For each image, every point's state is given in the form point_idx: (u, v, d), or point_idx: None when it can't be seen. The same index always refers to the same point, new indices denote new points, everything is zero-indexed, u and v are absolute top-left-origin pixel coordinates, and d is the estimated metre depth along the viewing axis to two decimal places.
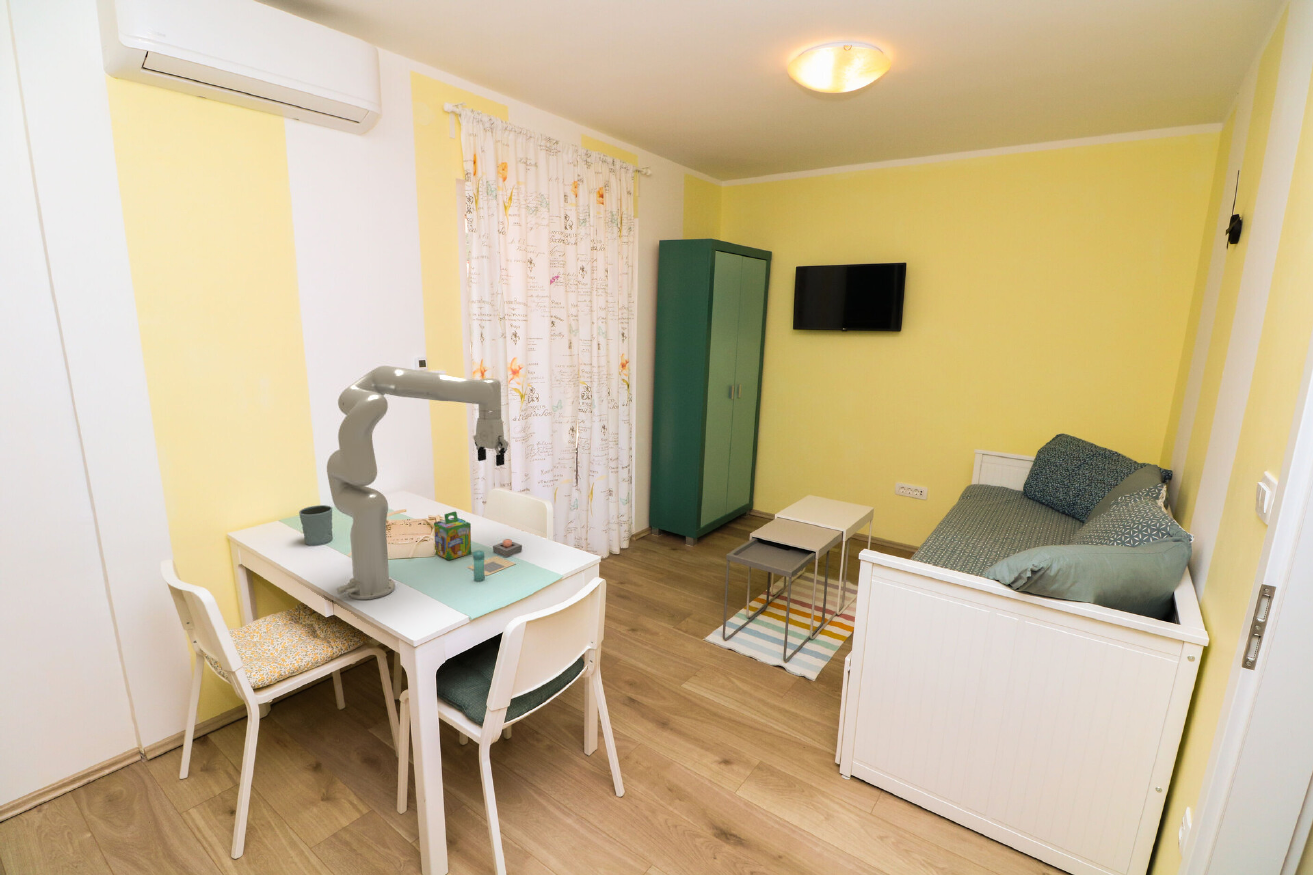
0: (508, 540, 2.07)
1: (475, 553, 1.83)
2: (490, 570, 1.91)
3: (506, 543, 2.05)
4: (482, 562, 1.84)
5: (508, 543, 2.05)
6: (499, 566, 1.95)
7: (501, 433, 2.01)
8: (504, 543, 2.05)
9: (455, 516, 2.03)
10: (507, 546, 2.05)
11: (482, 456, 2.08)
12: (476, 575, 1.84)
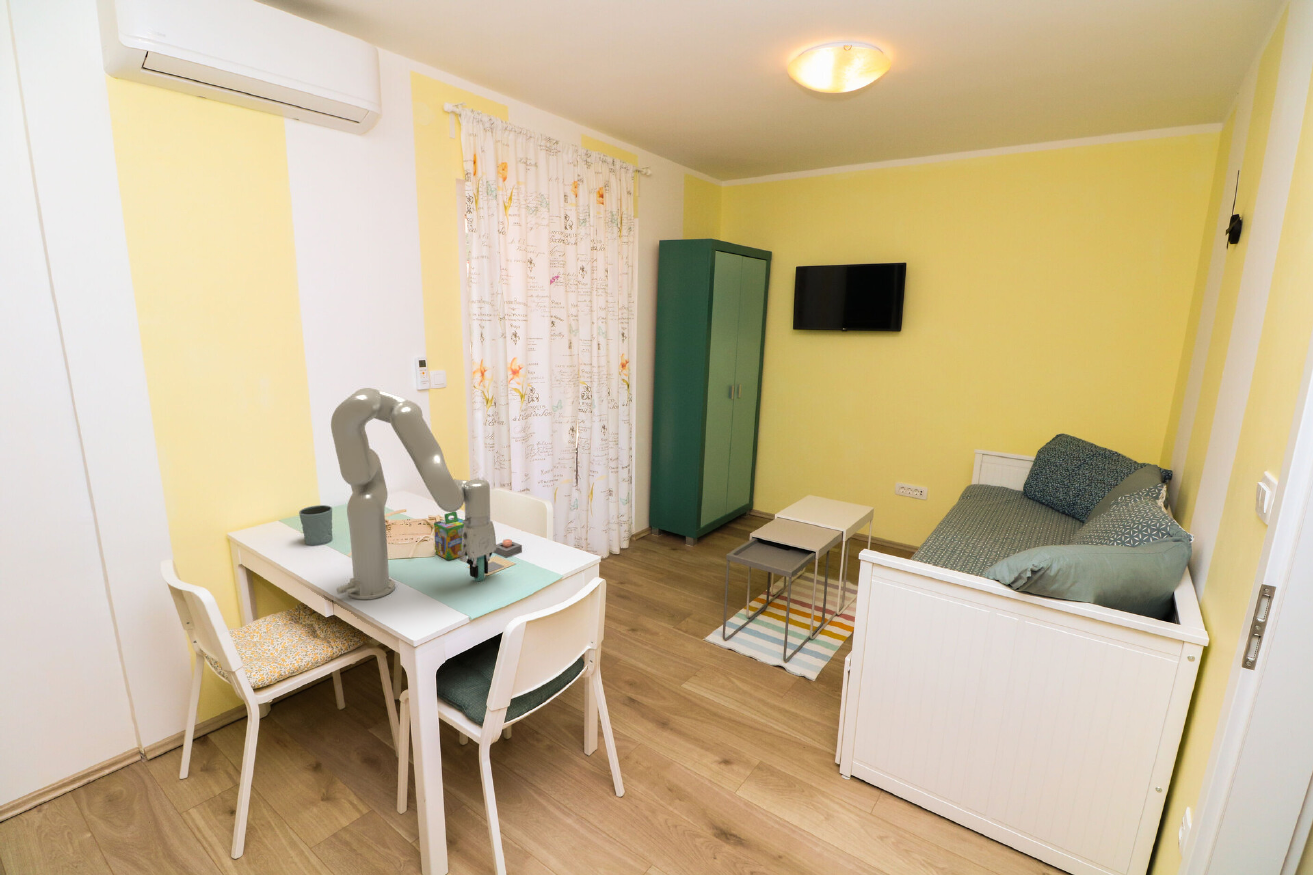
0: (508, 540, 2.07)
1: None
2: (490, 570, 1.91)
3: (506, 543, 2.05)
4: (482, 562, 1.84)
5: (508, 543, 2.05)
6: (499, 566, 1.95)
7: None
8: (504, 543, 2.05)
9: (455, 516, 2.03)
10: (507, 546, 2.05)
11: None
12: None
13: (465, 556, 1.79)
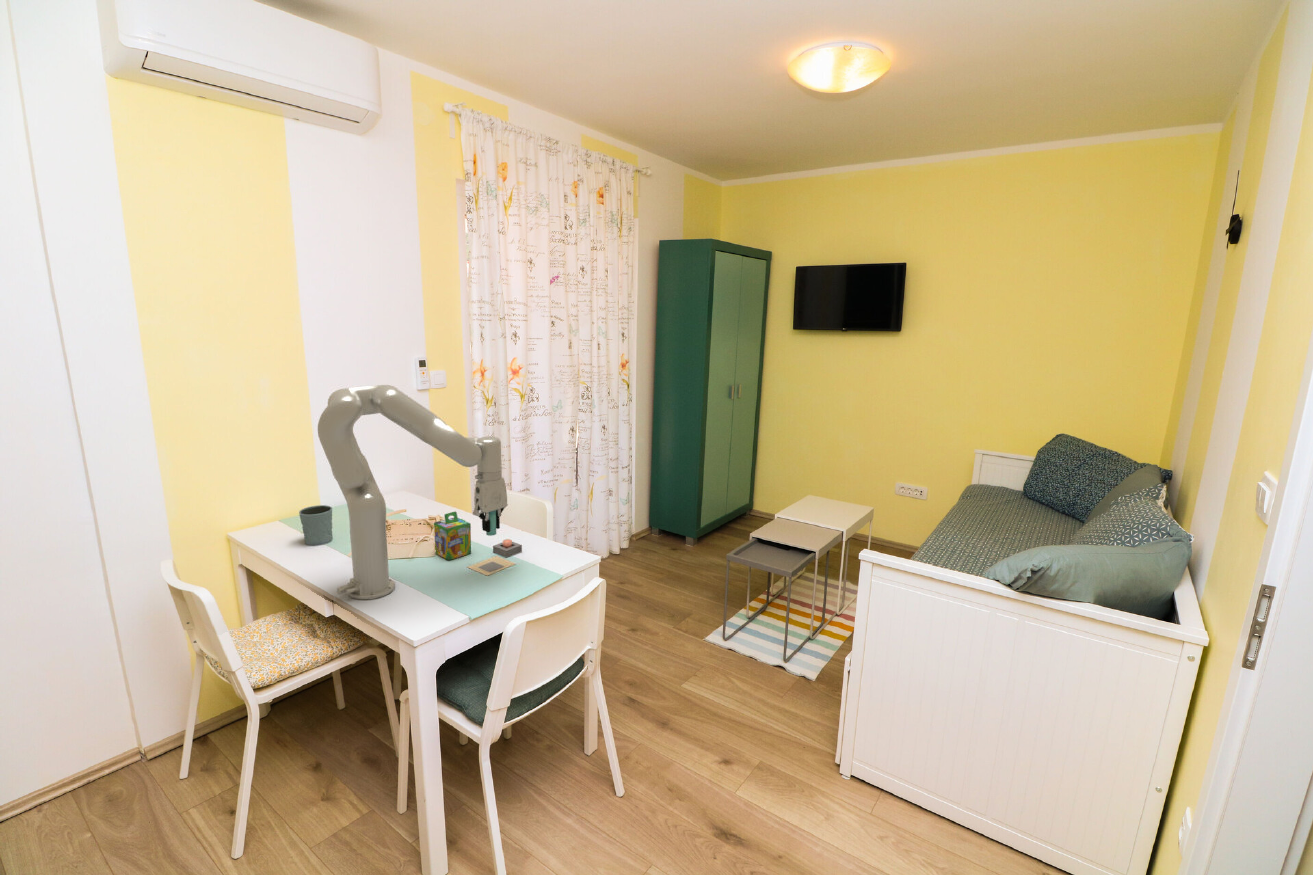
0: (508, 540, 2.07)
1: None
2: (490, 570, 1.91)
3: (506, 543, 2.05)
4: (494, 517, 1.90)
5: (508, 543, 2.05)
6: (499, 566, 1.95)
7: None
8: (504, 543, 2.05)
9: (455, 516, 2.03)
10: (507, 546, 2.05)
11: None
12: None
13: (478, 510, 1.85)
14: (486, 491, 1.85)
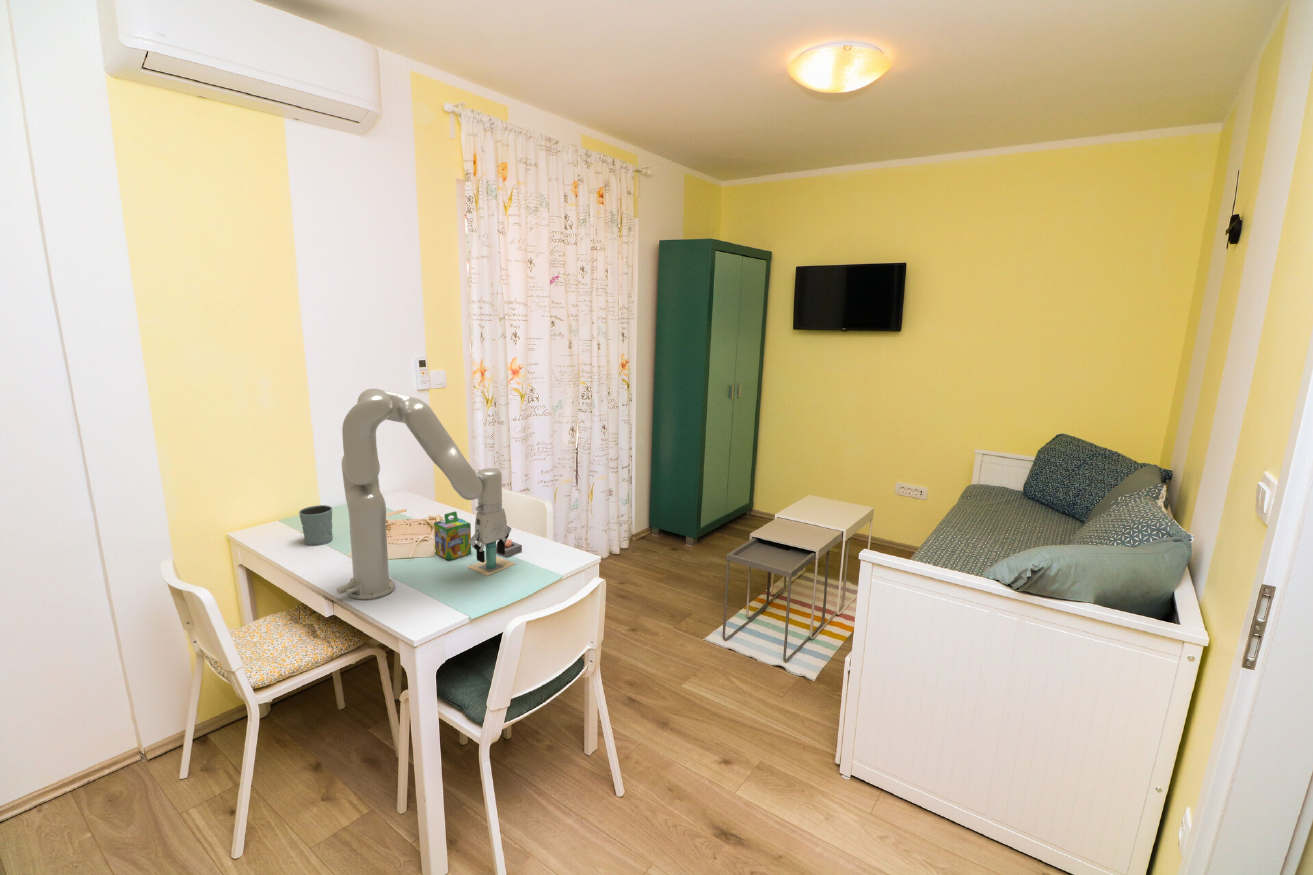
0: (508, 540, 2.07)
1: None
2: (490, 570, 1.91)
3: (506, 543, 2.05)
4: (494, 550, 1.92)
5: (508, 543, 2.05)
6: (499, 566, 1.95)
7: None
8: None
9: (455, 516, 2.03)
10: (507, 546, 2.05)
11: None
12: (488, 563, 1.92)
13: (477, 537, 1.87)
14: (486, 523, 1.87)
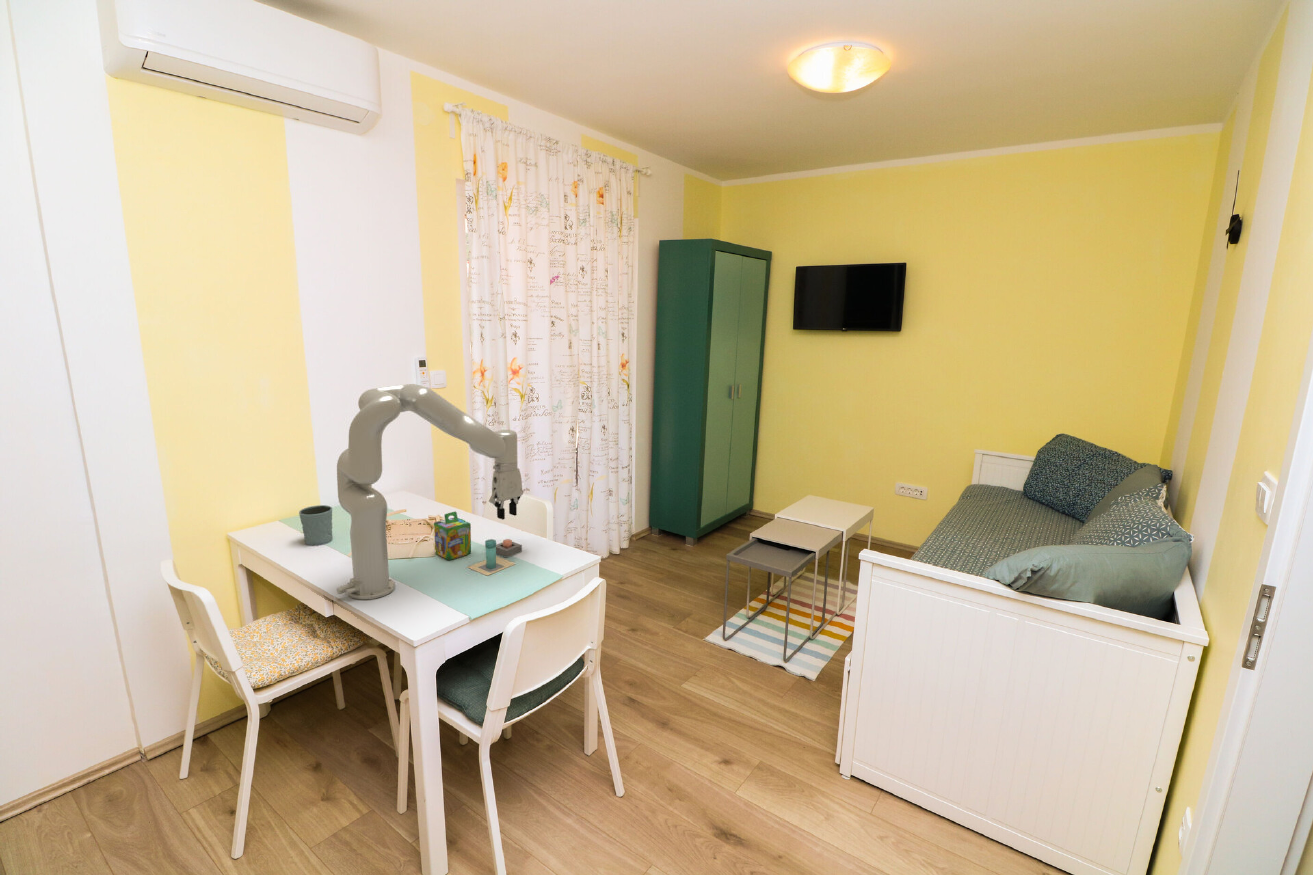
0: (508, 540, 2.07)
1: (487, 542, 1.92)
2: (490, 570, 1.91)
3: (506, 543, 2.05)
4: (494, 550, 1.92)
5: (508, 543, 2.05)
6: (499, 566, 1.95)
7: None
8: (504, 543, 2.05)
9: (455, 516, 2.03)
10: (507, 546, 2.05)
11: None
12: (488, 563, 1.92)
13: (494, 497, 1.98)
14: (503, 481, 1.98)
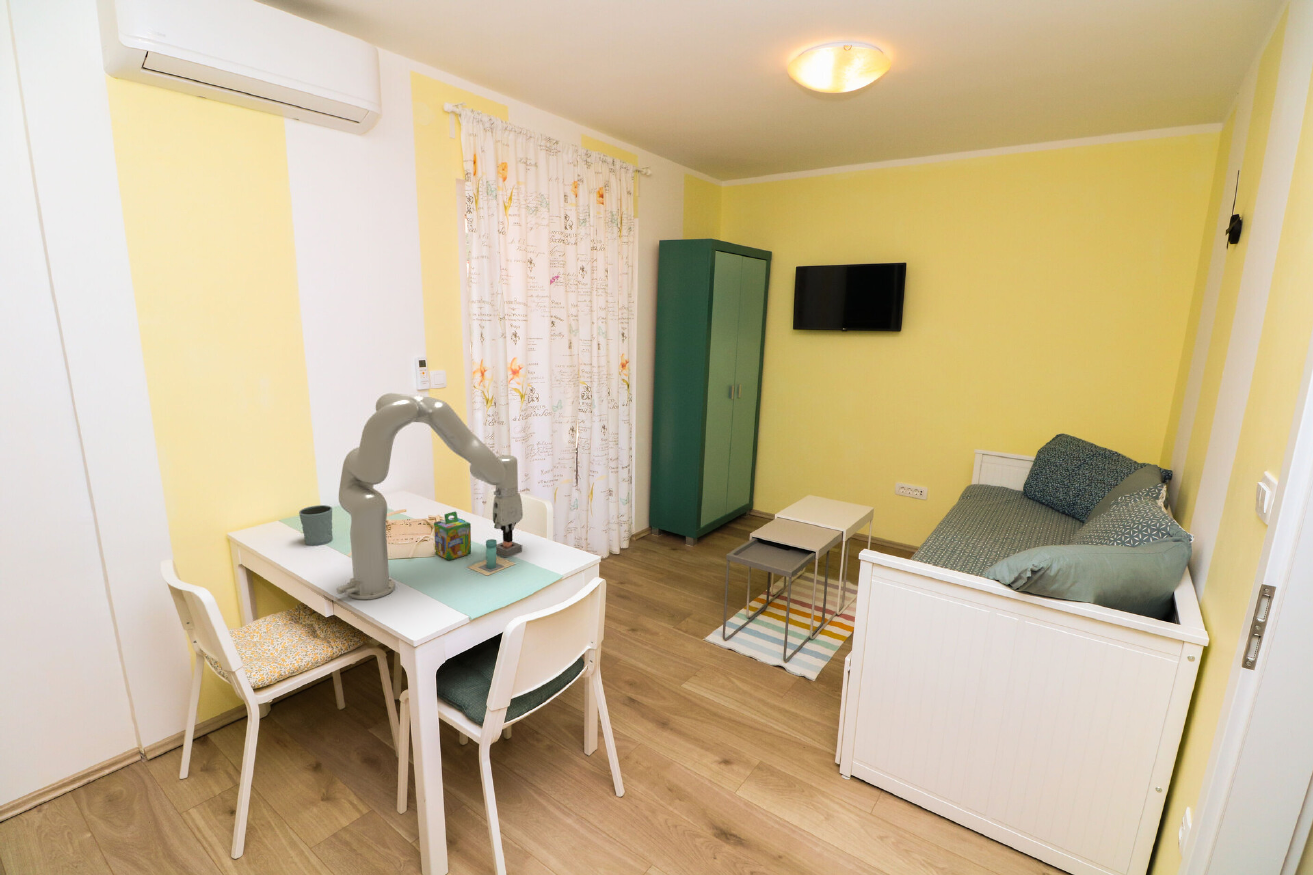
0: None
1: (488, 542, 1.92)
2: (490, 570, 1.91)
3: (506, 543, 2.05)
4: (494, 550, 1.92)
5: (508, 544, 2.05)
6: (499, 566, 1.95)
7: None
8: (504, 543, 2.05)
9: (455, 516, 2.03)
10: (507, 546, 2.05)
11: None
12: (488, 563, 1.92)
13: (497, 525, 2.01)
14: (504, 506, 1.99)
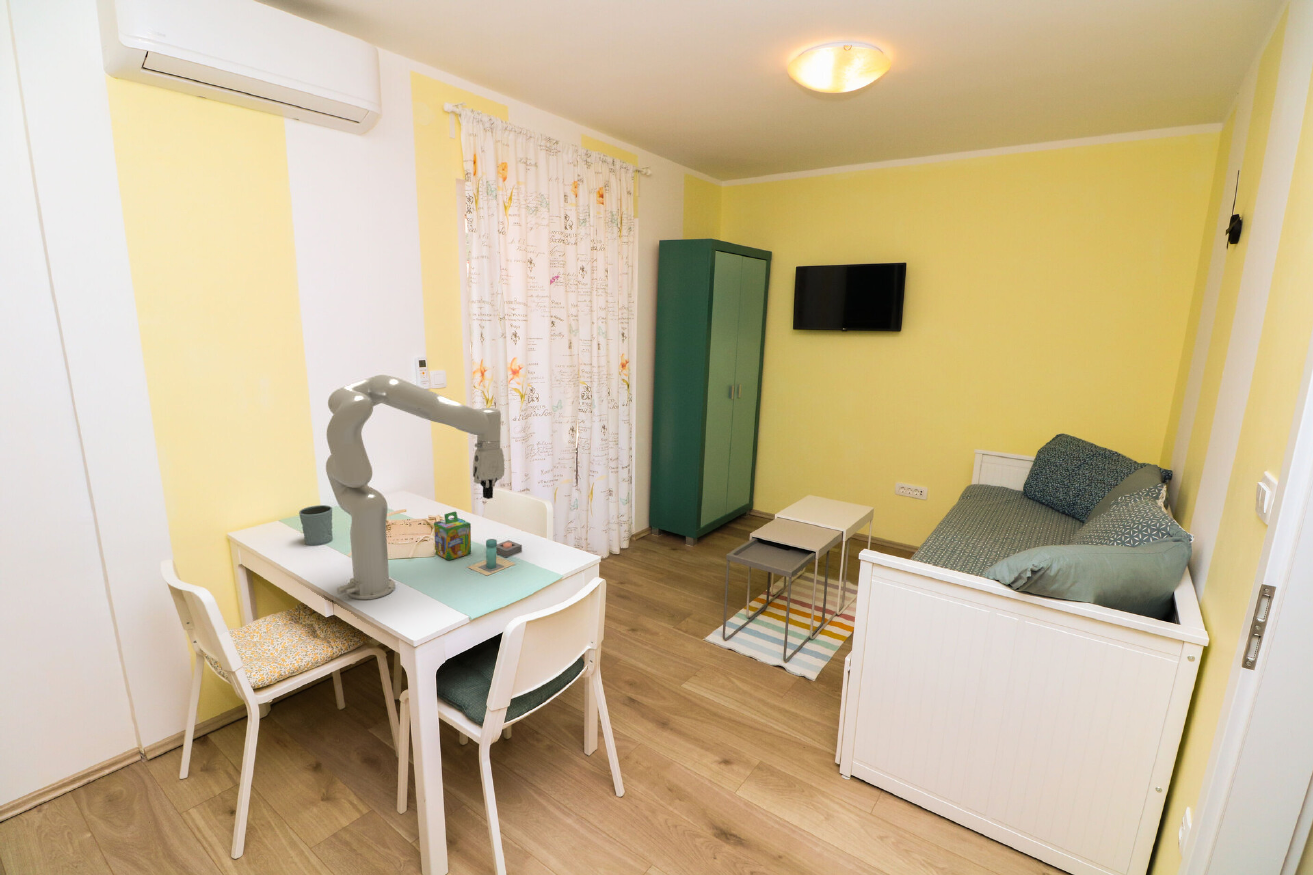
0: (508, 543, 2.07)
1: (488, 541, 1.92)
2: (490, 570, 1.91)
3: (506, 546, 2.05)
4: (494, 550, 1.92)
5: (508, 546, 2.06)
6: (499, 566, 1.95)
7: None
8: (504, 546, 2.06)
9: (455, 516, 2.03)
10: None
11: None
12: (488, 563, 1.92)
13: (477, 479, 1.94)
14: (484, 459, 1.93)
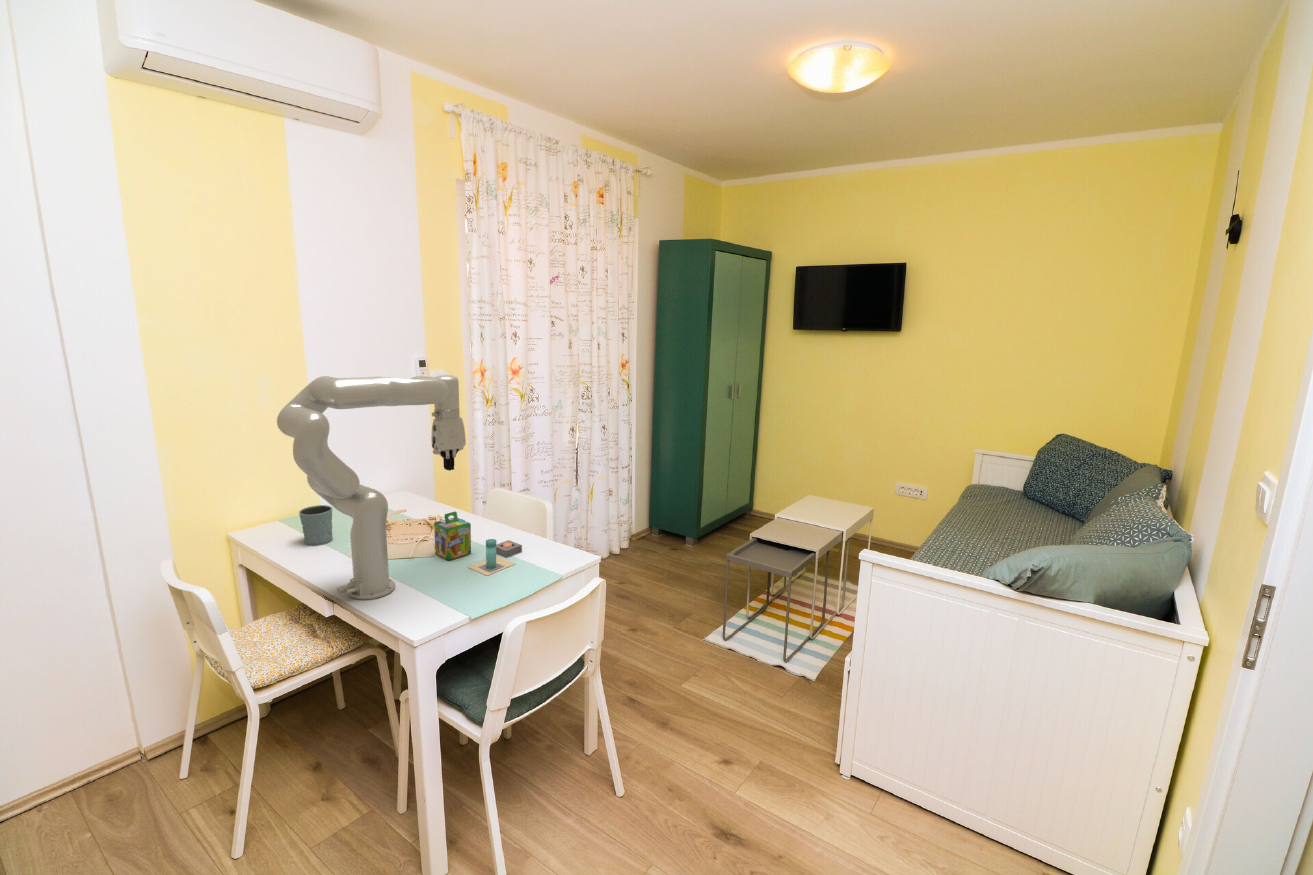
0: (508, 543, 2.07)
1: (487, 541, 1.92)
2: (490, 570, 1.91)
3: (506, 546, 2.05)
4: (494, 550, 1.92)
5: (508, 546, 2.06)
6: (499, 566, 1.95)
7: None
8: (504, 546, 2.06)
9: (455, 516, 2.03)
10: None
11: None
12: (488, 563, 1.92)
13: (436, 450, 1.86)
14: (443, 429, 1.85)
